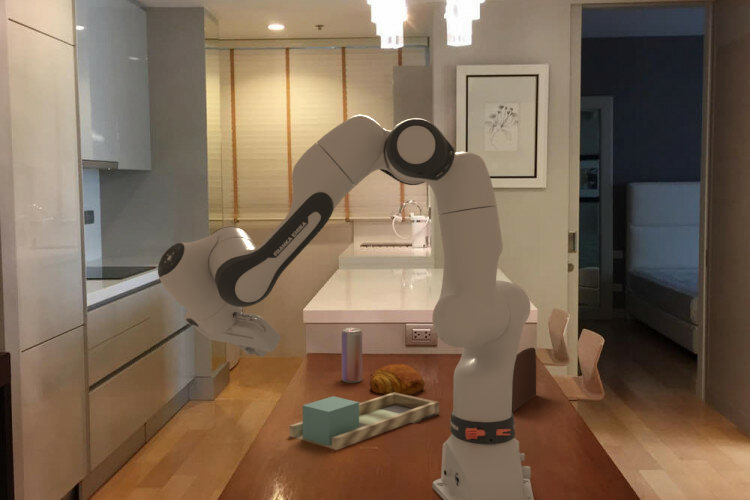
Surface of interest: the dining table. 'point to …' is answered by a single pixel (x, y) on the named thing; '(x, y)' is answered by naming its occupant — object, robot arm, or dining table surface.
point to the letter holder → (524, 378)
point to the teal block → (329, 419)
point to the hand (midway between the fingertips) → (257, 352)
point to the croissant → (396, 380)
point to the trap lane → (379, 418)
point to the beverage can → (351, 355)
